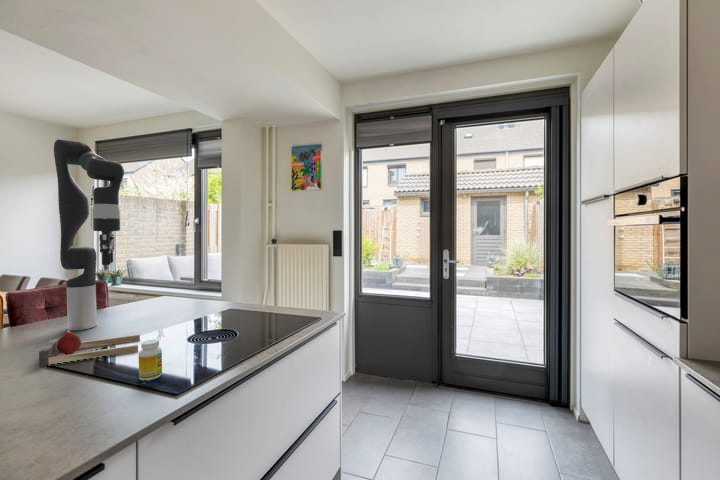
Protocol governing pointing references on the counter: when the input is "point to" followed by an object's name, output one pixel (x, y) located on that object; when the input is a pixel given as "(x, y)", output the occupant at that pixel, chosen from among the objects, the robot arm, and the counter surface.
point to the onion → (68, 343)
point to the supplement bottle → (150, 360)
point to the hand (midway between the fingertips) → (107, 263)
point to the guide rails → (50, 352)
